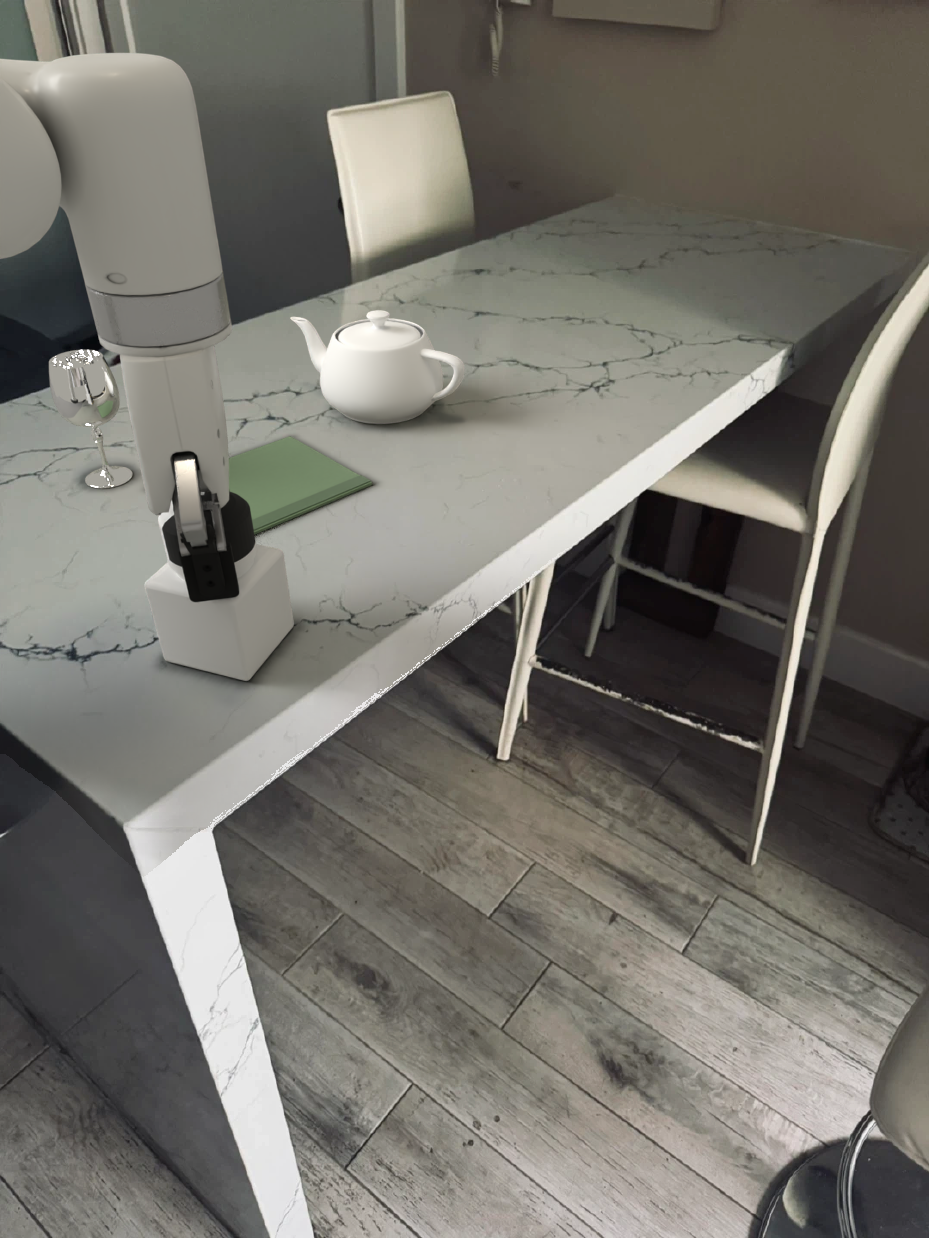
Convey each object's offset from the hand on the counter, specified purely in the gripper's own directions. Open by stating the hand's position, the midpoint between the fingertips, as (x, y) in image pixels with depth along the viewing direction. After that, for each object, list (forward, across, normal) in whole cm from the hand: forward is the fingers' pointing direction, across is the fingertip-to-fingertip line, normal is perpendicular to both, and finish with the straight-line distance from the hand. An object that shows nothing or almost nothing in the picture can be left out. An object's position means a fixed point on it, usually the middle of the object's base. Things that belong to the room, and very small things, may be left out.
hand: (214, 562), depth 61 cm
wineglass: (+8, -29, -11) cm, 32 cm away
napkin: (+7, -24, +4) cm, 25 cm away
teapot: (+8, -40, +17) cm, 44 cm away
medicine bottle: (+8, 0, 0) cm, 8 cm away
